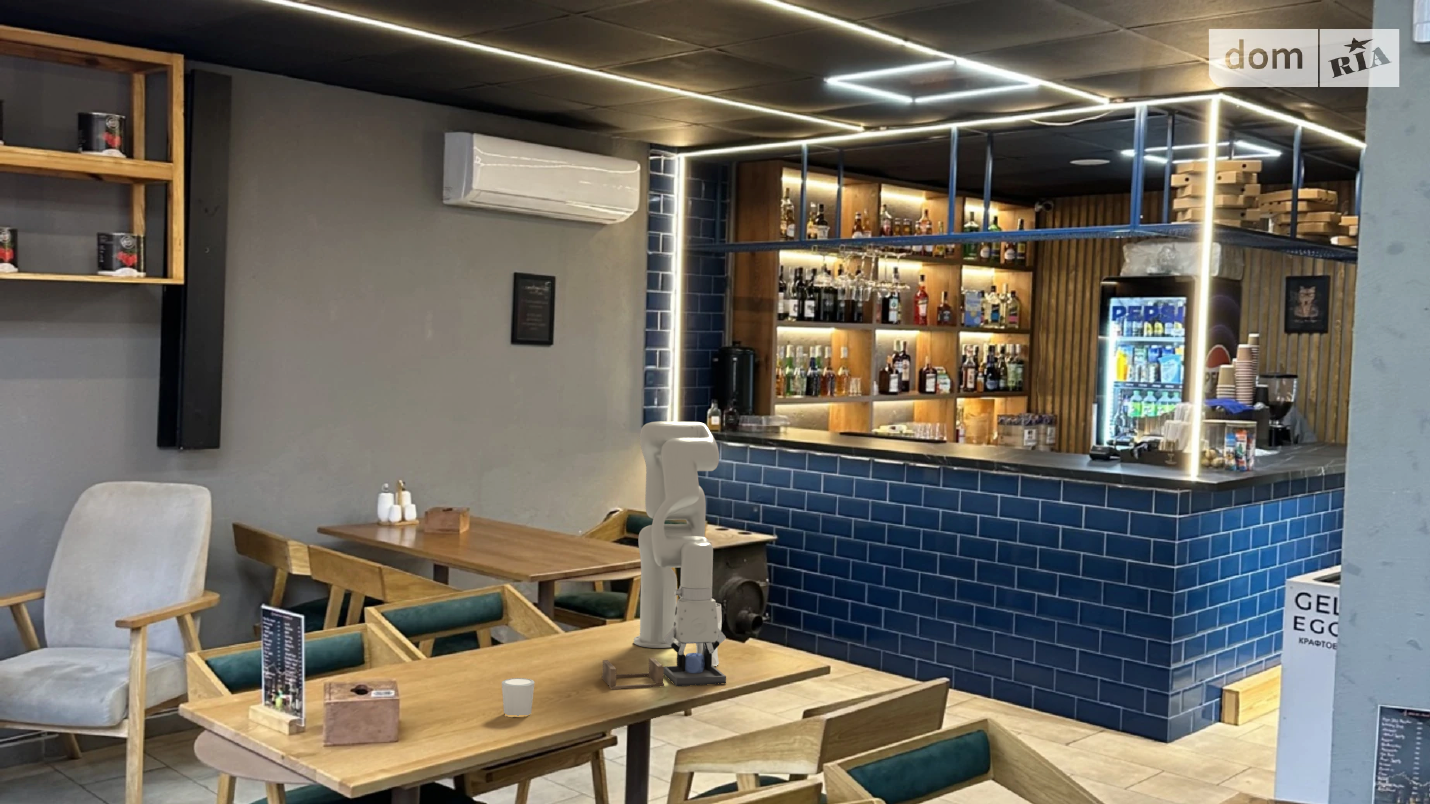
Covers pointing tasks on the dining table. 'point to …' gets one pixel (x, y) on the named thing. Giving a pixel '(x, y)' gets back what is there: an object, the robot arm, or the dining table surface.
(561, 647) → the dining table surface
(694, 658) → the decorative dice
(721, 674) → the tray
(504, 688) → the white cup
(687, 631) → the robot arm
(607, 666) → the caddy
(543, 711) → the dining table surface
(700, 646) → the beer glass
